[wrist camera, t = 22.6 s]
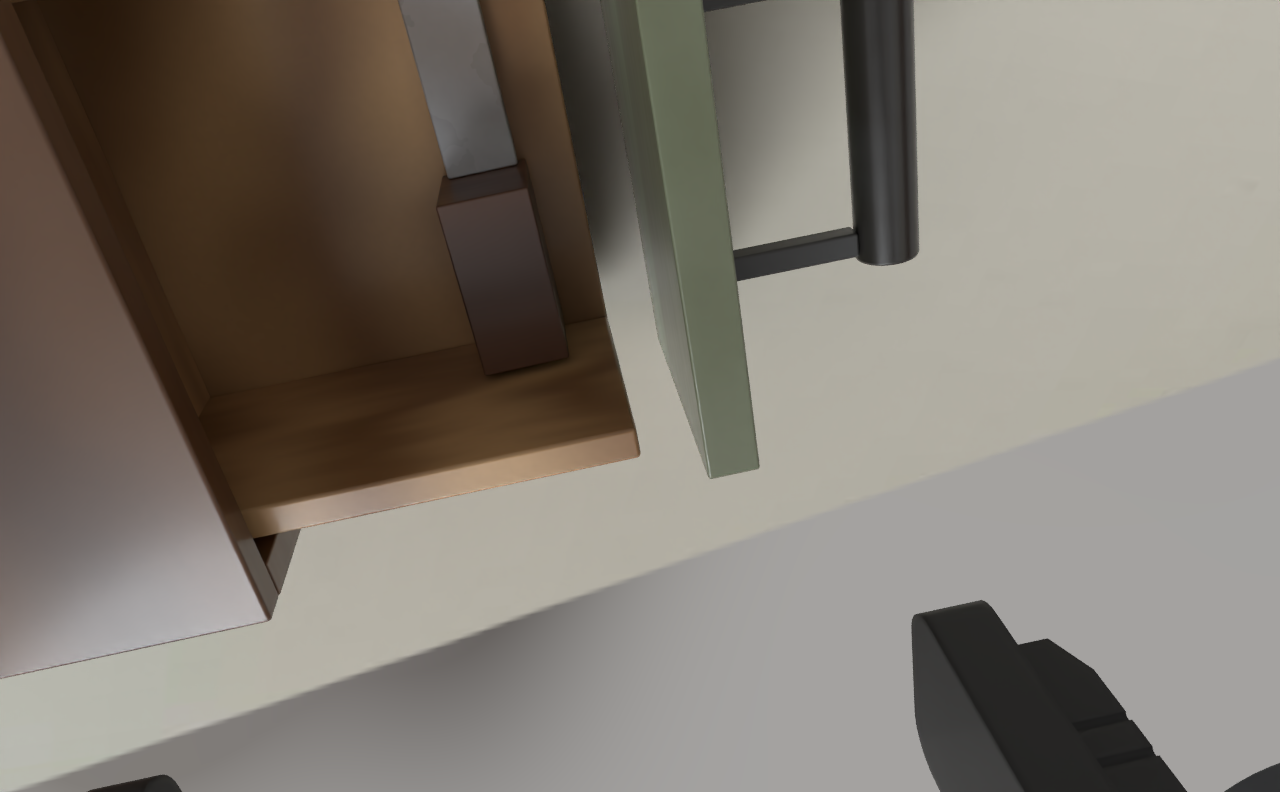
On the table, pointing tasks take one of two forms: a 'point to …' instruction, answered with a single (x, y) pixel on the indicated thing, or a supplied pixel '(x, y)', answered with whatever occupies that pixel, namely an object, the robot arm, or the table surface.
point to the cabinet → (98, 426)
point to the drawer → (428, 233)
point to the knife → (485, 191)
